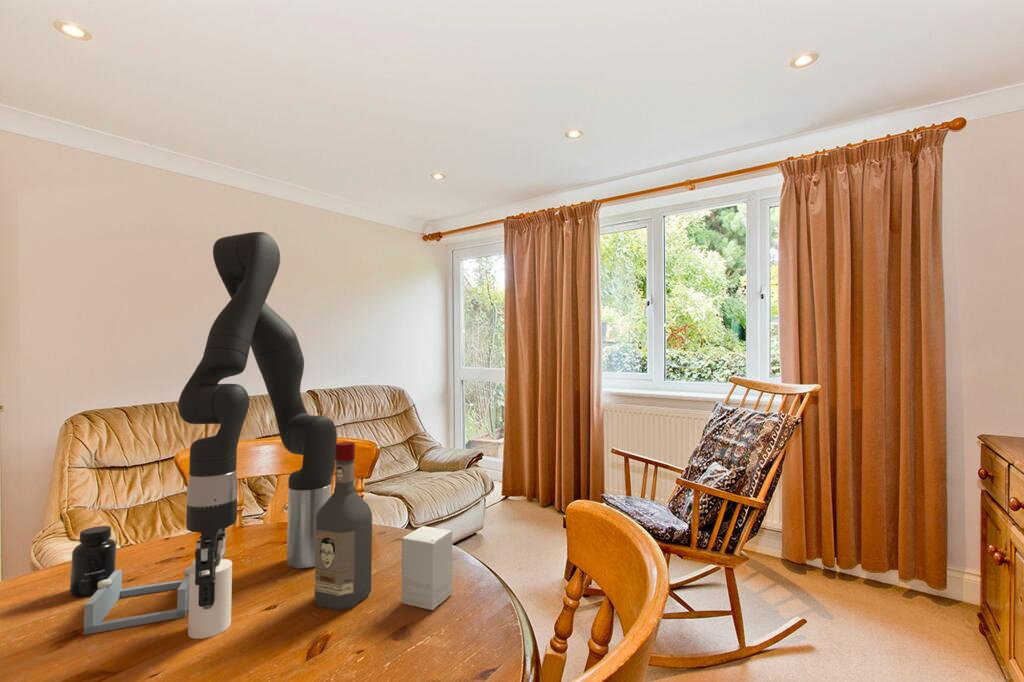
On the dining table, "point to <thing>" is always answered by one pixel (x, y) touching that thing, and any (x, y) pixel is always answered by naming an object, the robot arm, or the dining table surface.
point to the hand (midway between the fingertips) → (210, 595)
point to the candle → (216, 615)
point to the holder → (113, 591)
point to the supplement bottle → (92, 560)
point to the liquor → (343, 540)
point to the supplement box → (426, 567)
